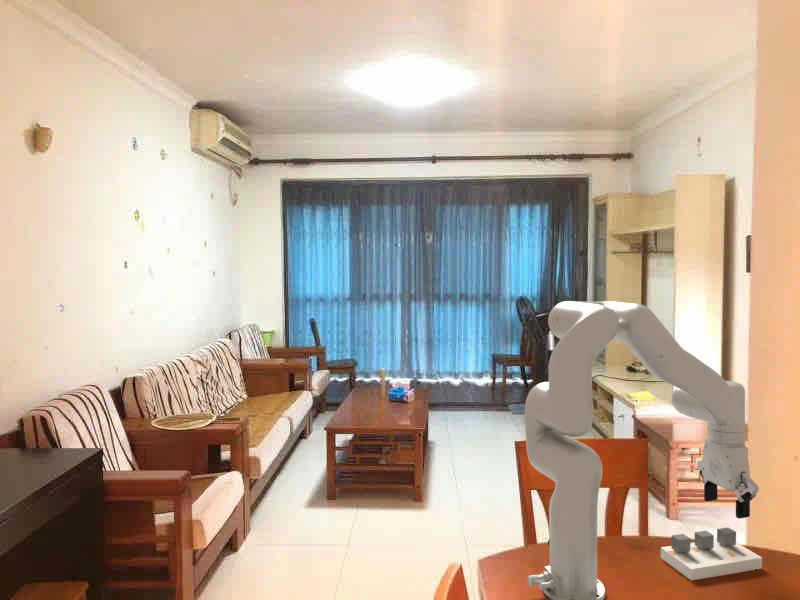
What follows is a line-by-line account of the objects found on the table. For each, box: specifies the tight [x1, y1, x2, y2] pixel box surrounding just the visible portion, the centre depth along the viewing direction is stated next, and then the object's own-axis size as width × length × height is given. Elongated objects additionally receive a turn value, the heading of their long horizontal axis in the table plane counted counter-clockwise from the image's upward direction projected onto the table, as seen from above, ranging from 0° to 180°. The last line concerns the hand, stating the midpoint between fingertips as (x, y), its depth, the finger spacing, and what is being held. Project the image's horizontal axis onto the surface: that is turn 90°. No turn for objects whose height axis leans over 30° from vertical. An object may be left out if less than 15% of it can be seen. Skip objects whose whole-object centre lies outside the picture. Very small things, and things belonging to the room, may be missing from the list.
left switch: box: [670, 533, 691, 553], centre depth 136 cm, size 3×2×3 cm
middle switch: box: [694, 530, 715, 550], centre depth 137 cm, size 3×2×3 cm
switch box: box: [660, 538, 763, 581], centre depth 136 cm, size 18×10×3 cm, turn 103°
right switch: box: [716, 527, 737, 546], centre depth 139 cm, size 3×2×3 cm
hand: (726, 508), depth 139 cm, fingers open, 9 cm apart
